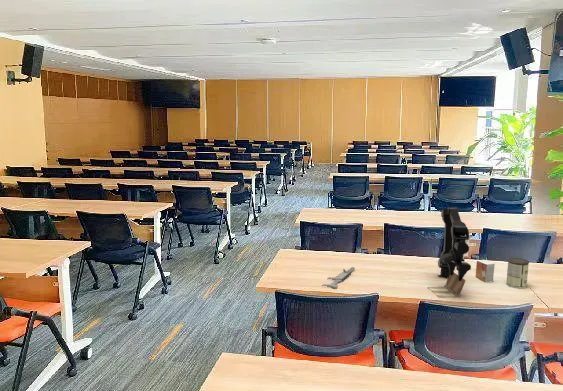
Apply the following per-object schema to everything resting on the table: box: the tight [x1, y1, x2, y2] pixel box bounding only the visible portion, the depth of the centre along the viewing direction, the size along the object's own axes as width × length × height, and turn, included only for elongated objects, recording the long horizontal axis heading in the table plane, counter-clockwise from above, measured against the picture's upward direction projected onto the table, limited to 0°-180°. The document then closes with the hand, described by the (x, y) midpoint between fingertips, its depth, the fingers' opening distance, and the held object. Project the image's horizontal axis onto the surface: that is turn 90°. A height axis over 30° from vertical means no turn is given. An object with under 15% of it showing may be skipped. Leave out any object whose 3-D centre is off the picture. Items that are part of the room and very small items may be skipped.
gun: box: [321, 266, 356, 290], centre depth 277 cm, size 36×4×10 cm
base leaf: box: [427, 284, 460, 299], centre depth 253 cm, size 14×11×2 cm
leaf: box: [445, 272, 466, 296], centre depth 253 cm, size 14×10×2 cm
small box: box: [474, 259, 496, 283], centre depth 274 cm, size 8×6×10 cm
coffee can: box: [506, 257, 530, 289], centre depth 265 cm, size 10×10×14 cm
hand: (455, 277), depth 252 cm, fingers open, 9 cm apart
